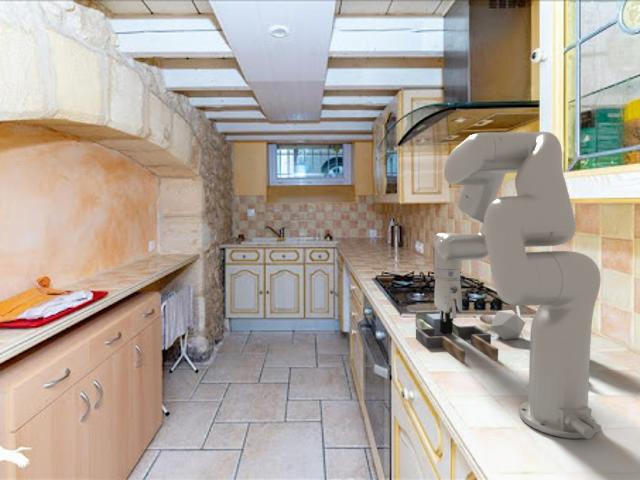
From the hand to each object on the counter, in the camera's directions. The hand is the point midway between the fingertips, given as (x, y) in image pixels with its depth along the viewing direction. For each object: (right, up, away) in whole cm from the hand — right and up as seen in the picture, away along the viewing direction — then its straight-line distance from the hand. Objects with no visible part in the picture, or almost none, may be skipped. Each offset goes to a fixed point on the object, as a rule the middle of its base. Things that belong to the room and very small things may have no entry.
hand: (446, 333), depth 127 cm
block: (-1, -1, +6) cm, 6 cm away
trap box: (+1, -2, -4) cm, 4 cm away
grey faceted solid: (+18, -1, -1) cm, 18 cm away
